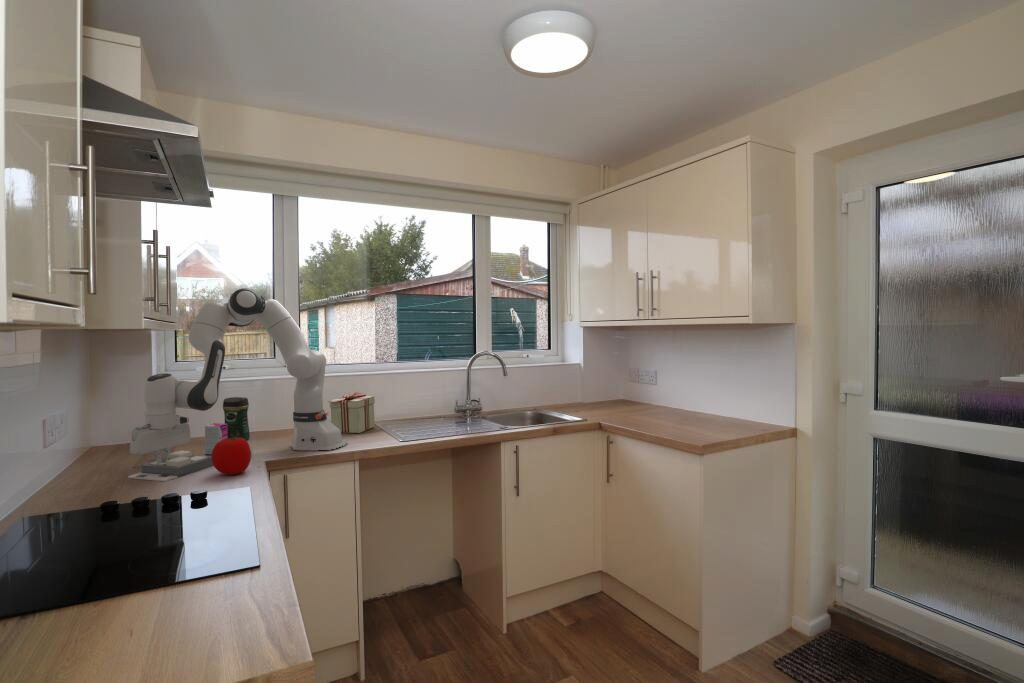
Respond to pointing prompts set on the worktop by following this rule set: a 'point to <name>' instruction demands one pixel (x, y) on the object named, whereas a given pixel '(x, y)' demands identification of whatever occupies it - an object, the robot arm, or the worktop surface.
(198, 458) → the button
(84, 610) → the worktop surface
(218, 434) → the supplement box
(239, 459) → the tomato
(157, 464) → the button
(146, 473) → the button board
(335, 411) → the gift box
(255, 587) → the worktop surface
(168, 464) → the button
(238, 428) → the coffee jar
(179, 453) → the button
